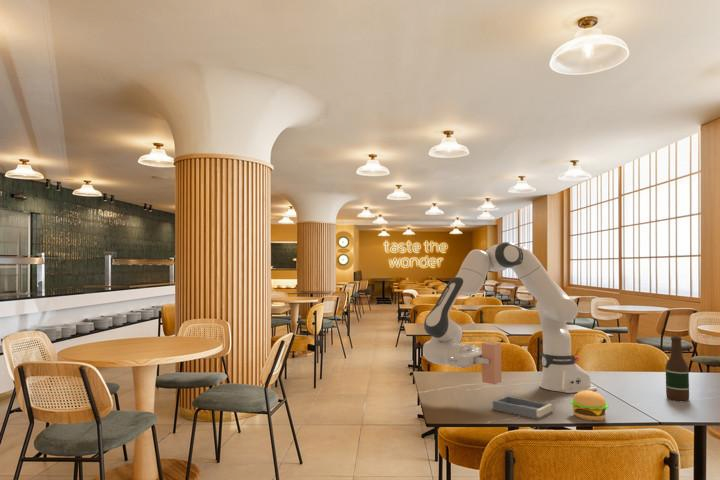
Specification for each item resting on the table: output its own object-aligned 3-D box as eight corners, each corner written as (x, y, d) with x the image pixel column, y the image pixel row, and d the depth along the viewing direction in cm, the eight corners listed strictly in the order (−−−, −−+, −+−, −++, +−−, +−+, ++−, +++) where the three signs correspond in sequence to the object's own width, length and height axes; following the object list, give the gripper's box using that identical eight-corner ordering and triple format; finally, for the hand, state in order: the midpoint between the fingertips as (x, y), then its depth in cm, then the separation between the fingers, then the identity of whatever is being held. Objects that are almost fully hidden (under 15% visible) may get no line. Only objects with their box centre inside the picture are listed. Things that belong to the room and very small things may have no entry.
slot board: (492, 409, 185) (492, 401, 185) (506, 403, 193) (506, 395, 193) (540, 419, 173) (539, 410, 173) (552, 412, 181) (552, 404, 181)
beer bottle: (686, 397, 202) (685, 335, 203) (692, 402, 195) (690, 338, 196) (664, 395, 205) (662, 334, 206) (668, 400, 197) (667, 337, 198)
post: (482, 382, 188) (481, 343, 188) (489, 379, 191) (488, 341, 192) (494, 384, 184) (494, 344, 185) (501, 381, 188) (500, 343, 188)
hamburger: (613, 416, 177) (612, 390, 178) (603, 424, 168) (602, 397, 169) (577, 409, 185) (576, 385, 186) (565, 417, 176) (565, 391, 176)
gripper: (445, 350, 189) (479, 355, 180) (474, 344, 204) (506, 347, 195) (445, 368, 189) (479, 373, 180) (474, 360, 204) (507, 364, 195)
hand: (493, 360), depth 187 cm, fingers closed on post, 5 cm apart
